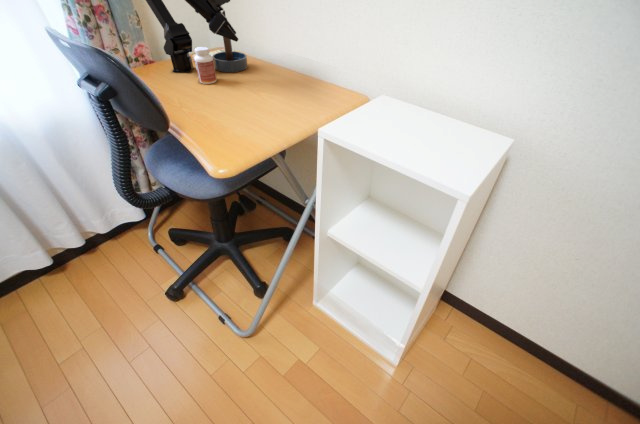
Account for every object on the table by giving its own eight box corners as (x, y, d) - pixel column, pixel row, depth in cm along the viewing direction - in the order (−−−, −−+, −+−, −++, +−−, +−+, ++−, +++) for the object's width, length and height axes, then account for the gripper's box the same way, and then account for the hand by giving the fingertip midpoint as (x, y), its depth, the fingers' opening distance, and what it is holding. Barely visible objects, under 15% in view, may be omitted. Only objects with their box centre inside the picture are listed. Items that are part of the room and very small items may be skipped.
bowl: (211, 72, 120) (209, 60, 117) (217, 62, 130) (215, 50, 127) (245, 73, 121) (244, 61, 118) (249, 63, 131) (248, 51, 128)
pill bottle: (220, 81, 114) (214, 48, 107) (206, 85, 110) (200, 52, 103) (209, 77, 117) (203, 45, 109) (195, 81, 113) (188, 48, 105)
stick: (231, 67, 124) (226, 34, 116) (225, 66, 125) (220, 33, 117) (235, 66, 126) (231, 33, 118) (230, 64, 127) (226, 31, 119)
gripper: (213, -18, 91) (254, 24, 101) (211, -25, 104) (248, 13, 114) (191, 13, 94) (233, 51, 104) (192, 2, 107) (229, 37, 117)
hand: (236, 37), depth 110 cm, fingers open, 9 cm apart
